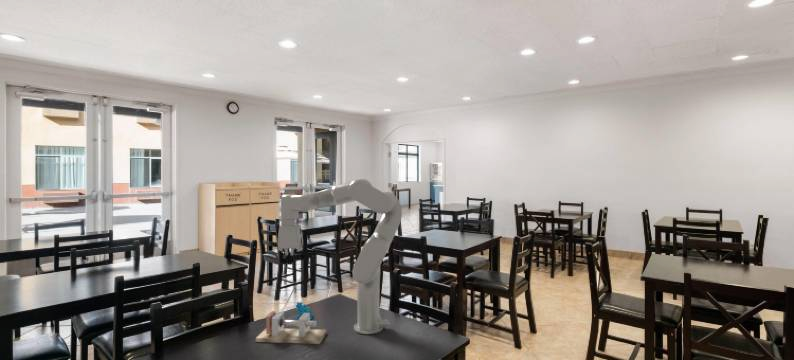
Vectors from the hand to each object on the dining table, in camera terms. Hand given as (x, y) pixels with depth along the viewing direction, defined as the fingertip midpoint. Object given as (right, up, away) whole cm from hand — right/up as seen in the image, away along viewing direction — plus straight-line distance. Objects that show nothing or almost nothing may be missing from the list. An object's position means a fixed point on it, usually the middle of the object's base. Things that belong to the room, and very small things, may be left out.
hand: (290, 263), depth 172 cm
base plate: (+4, -27, -13) cm, 30 cm away
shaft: (+4, -25, -13) cm, 28 cm away
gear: (+5, -27, +8) cm, 29 cm away
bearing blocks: (+4, -26, -13) cm, 29 cm away
